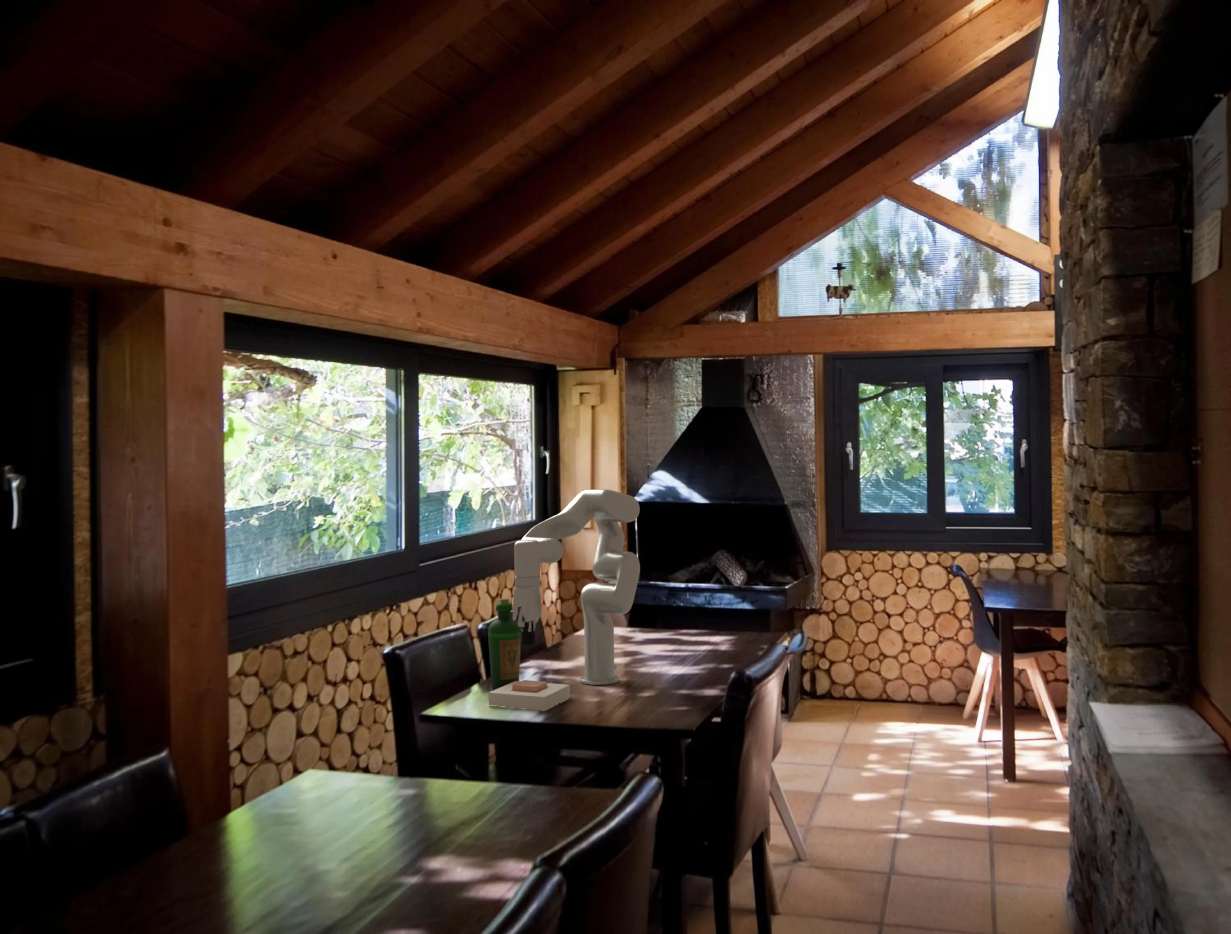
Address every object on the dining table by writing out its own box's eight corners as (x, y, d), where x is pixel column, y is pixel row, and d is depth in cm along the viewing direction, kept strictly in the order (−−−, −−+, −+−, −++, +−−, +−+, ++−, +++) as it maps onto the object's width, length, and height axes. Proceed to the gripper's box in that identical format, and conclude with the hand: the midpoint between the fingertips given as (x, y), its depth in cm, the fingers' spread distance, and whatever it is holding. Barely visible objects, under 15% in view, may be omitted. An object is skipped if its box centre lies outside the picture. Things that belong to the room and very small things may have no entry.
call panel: (516, 694, 311) (516, 680, 311) (570, 698, 304) (569, 684, 304) (488, 706, 295) (488, 692, 295) (544, 711, 289) (544, 696, 289)
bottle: (516, 692, 313) (515, 601, 313) (483, 691, 315) (482, 600, 315) (526, 685, 324) (525, 596, 324) (494, 684, 326) (493, 596, 326)
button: (524, 693, 305) (524, 680, 305) (547, 695, 302) (547, 681, 302) (512, 698, 298) (512, 685, 298) (535, 700, 295) (535, 687, 295)
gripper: (527, 579, 308) (528, 639, 308) (504, 584, 294) (505, 648, 294) (550, 579, 305) (551, 641, 305) (527, 585, 292) (528, 649, 292)
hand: (528, 644), depth 300 cm, fingers closed
